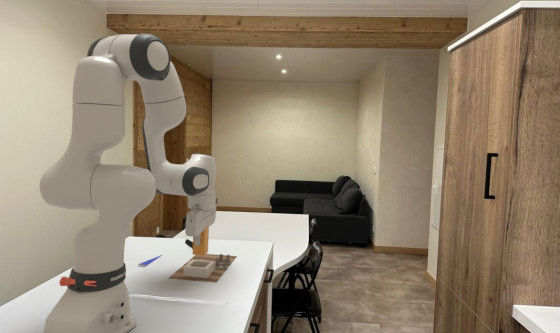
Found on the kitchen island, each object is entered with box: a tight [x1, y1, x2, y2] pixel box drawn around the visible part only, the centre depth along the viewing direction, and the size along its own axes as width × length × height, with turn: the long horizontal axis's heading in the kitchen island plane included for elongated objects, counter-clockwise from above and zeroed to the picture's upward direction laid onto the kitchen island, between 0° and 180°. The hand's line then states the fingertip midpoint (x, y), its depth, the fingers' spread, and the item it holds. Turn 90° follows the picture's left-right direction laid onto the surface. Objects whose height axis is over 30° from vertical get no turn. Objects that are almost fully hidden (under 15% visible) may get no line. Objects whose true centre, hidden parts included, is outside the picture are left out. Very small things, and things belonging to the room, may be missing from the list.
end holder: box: [183, 260, 215, 278], centre depth 124 cm, size 8×8×3 cm
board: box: [168, 253, 238, 283], centre depth 131 cm, size 28×16×5 cm, turn 173°
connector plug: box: [192, 226, 210, 256], centre depth 124 cm, size 4×4×10 cm
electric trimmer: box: [184, 238, 193, 249], centre depth 155 cm, size 4×16×3 cm, turn 34°
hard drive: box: [137, 254, 163, 268], centre depth 136 cm, size 2×8×12 cm
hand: (200, 242), depth 124 cm, fingers closed on connector plug, 4 cm apart
